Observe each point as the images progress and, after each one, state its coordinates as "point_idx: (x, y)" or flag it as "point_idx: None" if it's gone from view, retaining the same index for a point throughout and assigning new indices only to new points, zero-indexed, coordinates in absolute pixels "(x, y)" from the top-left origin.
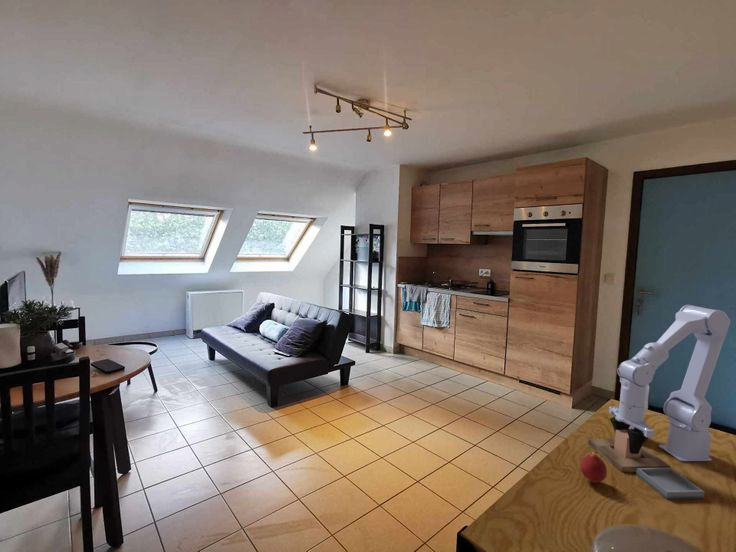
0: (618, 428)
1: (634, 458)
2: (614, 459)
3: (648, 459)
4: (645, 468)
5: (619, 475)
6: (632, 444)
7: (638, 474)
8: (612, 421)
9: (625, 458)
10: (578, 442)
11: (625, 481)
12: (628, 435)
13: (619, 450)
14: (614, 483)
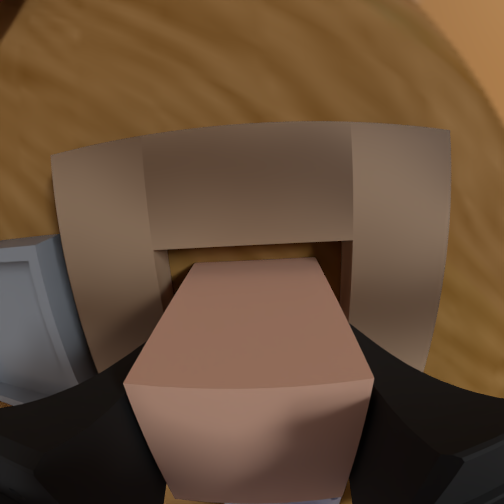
0: (378, 424)
1: None
2: (130, 149)
3: None
4: (45, 300)
5: (45, 123)
6: (108, 370)
7: (40, 237)
8: (486, 427)
9: (152, 255)
10: (440, 75)
11: (8, 131)
12: (100, 416)
13: (256, 277)
14: (2, 69)
